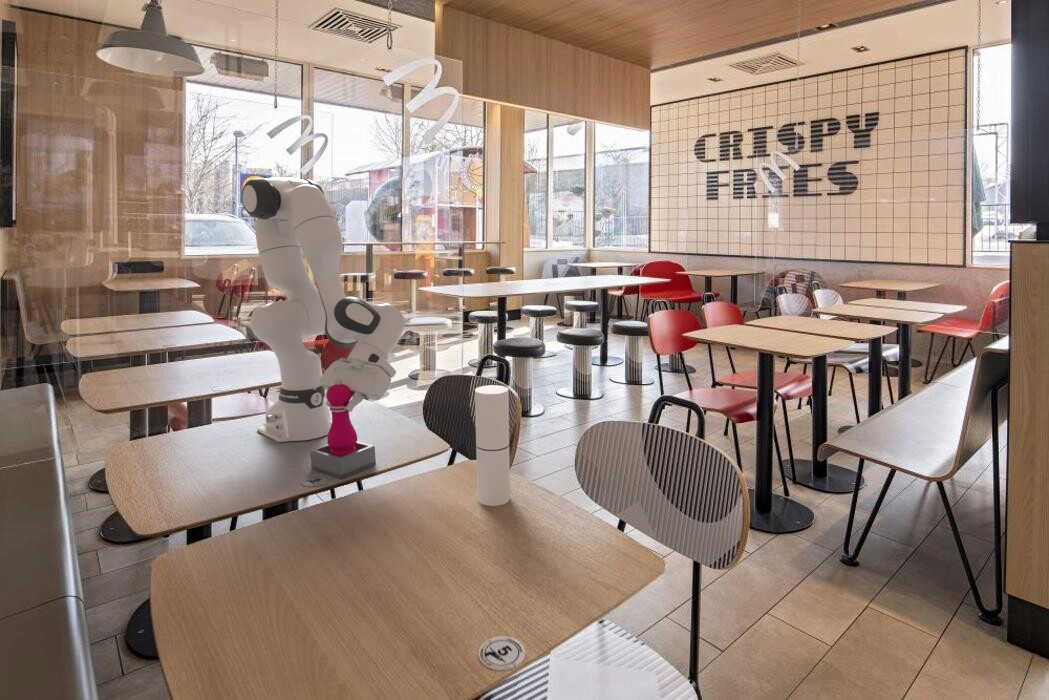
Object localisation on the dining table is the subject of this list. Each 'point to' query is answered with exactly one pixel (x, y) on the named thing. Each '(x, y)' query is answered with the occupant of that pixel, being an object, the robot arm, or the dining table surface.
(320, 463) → the box
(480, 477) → the cylindrical container
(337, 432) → the pepper mill
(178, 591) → the dining table surface
